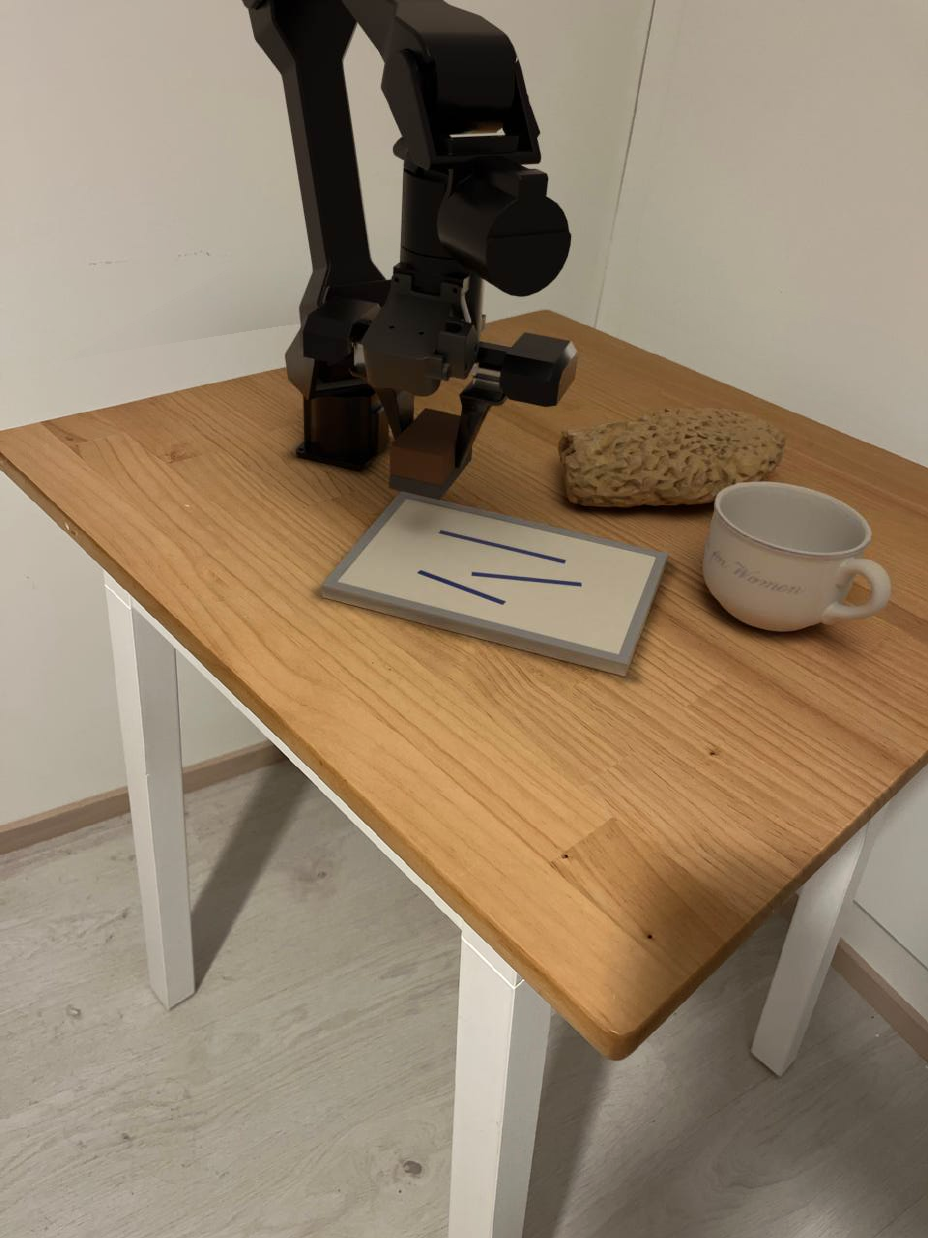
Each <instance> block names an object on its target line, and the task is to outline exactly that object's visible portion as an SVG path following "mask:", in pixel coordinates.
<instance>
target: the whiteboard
mask: <svg viewBox="0 0 928 1238" xmlns="http://www.w3.org/2000/svg"><path fill="white" fill-rule="evenodd" d="M669 554H670V553H668V552H664V551H661V550H657V549H652V548H648V547H643V546H639V545H635V544H630V543H627V542H622V541H617V540H614V539H609V538H605V537H600V536H597V535H592V534H588V533H583V532H580V531H576V530H572V529H571V530H570V529H566V528H562V527H559V526H558V527H557V526H554V525H550V524H546V523H540V522H536V521H532V520H528V519H524V518H519V517H515V516H511V515H507V514H503V513H498V512H494V511H489V510H486V509H481V508H476V507H472V506H468V505H465V504H459V503H456V502H452V501H448V500H443V499H441V500H436V499H432V498H428V497H423V496H419V495H415V494H411V493H406V492H402V491H399V492H398V494H397V495H396V496H395V497H394V498H393V499H392V500H391V502H390V503H389V504H388V505H387V507H386V508H384V510H383V511H382V512H381V514H380V515H379V516H378V517H377V518H376V520H375V521H374V522H373V523H372V524H371V525H370V527H368V529H367V530H366V531H365V533H364V534H363V535H362V536H361V537H360V538H359V539H358V540H357V542H356V543H355V544H354V545H353V546H352V547H351V549H350V550H349V551H348V553H346V554H345V556H344V557H343V558H342V559H341V560H340V562H339V563H338V564H337V565H336V566H335V567H334V569H333V570H332V571H331V572H330V573H329V575H328V576H327V577H326V578H325V579H324V581H322V583H321V598H324V599H327V600H332V601H335V602H339V603H341V604H347V605H350V606H355V607H359V608H362V609H366V610H370V611H373V612H376V613H381V614H385V615H389V616H392V617H396V618H400V619H403V620H408V621H412V622H415V623H418V624H423V625H427V626H431V627H434V628H438V629H441V630H445V631H448V632H452V633H457V634H461V635H465V636H468V637H472V638H476V639H479V640H484V641H487V642H491V643H495V644H499V645H503V646H507V647H509V648H514V649H518V650H521V651H525V652H528V653H533V654H537V655H540V656H544V657H548V658H552V659H555V660H559V661H563V662H567V663H571V664H574V665H579V666H583V667H585V668H590V669H594V670H596V671H601V672H605V673H608V674H613V675H616V676H620V677H624V678H625V677H626V676H627V674H628V671H629V669H630V666H631V663H632V660H633V658H634V655H635V653H636V649H637V647H638V644H639V642H640V638H641V636H642V633H643V630H644V628H645V624H646V622H647V619H648V617H649V613H650V611H651V608H652V606H653V602H654V600H655V597H656V594H657V592H658V589H659V587H660V584H661V581H662V578H663V575H664V572H665V570H666V567H667V563H668V560H669Z"/></svg>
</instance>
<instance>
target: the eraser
mask: <svg viewBox="0 0 928 1238" xmlns="http://www.w3.org/2000/svg"><path fill="white" fill-rule="evenodd" d="M460 417H461V414H456V413H451V412H446V411H441V410H437V409H433V408H428V407H424V408H423V410H422V411H421V412H420V413H419V414H418V415H417V416H416V417H415V418H413V422H412V423H411V424H410V425H409V426H408V427H407V428H406V429H405V430H404V431H403V432H402V433H401V434H400V435H399V437H398V438H397V439H396V440H394V441H392V443H391V444H390V446H389V471H388V472H389V476H388V489H390V490H394V491H399V492H401V491H402V492H406V493H411V494H415V495H419V496H423V497H428V498H432V499H436V500H442V499H443V497H444V496H445V495H446V493H448V491H449V490H450V488H451V487H452V486H453V484H454V483H455V482H456V480H457V479H458V478H459V476H460V475H461V474H462V473H463V471H464V470H465V469H466V468H467V466H468V465H469V463H470V462H471V461H472V459H473V458H472V457H473V446H474V444H473V445H472V447H471V449H470V452H469V454H468V456H467V458H466V460H465V462H464V464H463V465H462V466H461V468H455V447H456V441H457V435H458V429H459V423H460Z"/></svg>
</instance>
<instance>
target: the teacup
mask: <svg viewBox="0 0 928 1238" xmlns="http://www.w3.org/2000/svg"><path fill="white" fill-rule="evenodd" d="M713 508H714V510H713V512H712V513H713V514H712V517H711V521H710V525H709V527H708V532H707V537H706V541H705V544H704V545H705V546H704V550H703V557H702V576H703V580H704V583H705V585H706V587H707V588H708V590H709V592H710V594H711V595H712V596H713V598H715V599H716V600H717V601H718V603H719V604H720V605H721V607H722V608H723V609H724V610H725V611H726V612H727V613H728V614H729V615H731V616H732V617H734V618H735V619H737V620H738V621H740V622H742V623H744V624H746V625H749V626H752V627H755V628H758V629H761V630H765V631H770V632H780V633H781V632H782V633H783V632H794V631H799V630H802V629H805V628H807V627H810V626H815V625H818V624H820V623H822V624H824V625H834V624H836V623H838V622H839V621H859V620H861V621H862V620H866V619H869V618H871V617H874V616H876V615H877V614H879V613H881V612H882V611H883V610H884V609H885V608H886V606H887V605H888V603H889V600H890V598H891V596H892V595H891V594H892V583H891V580H890V576H889V574H888V572H887V571H886V569H885V568H883V566H881V564H879V562H875V561H874V560H871V559H867V558H863V557H864V554H865V551H866V549H867V547H868V546H869V544H870V543H871V541H872V538H873V537H872V535H873V534H872V528H871V526H870V524H869V523H868V521H867V520H866V519H865V517H864V516H863V515H861V514H860V513H859V512H858V511H857V510H855V509H854V508H853V507H851V506H850V505H848V503H847V504H846V503H845V502H843V501H841V500H839V499H838V498H835V497H833V496H832V495H829V494H826V493H824V492H822V491H817V490H814V489H812V488H810V487H809V488H808V487H804V486H800V485H795V484H791V483H785V482H779V481H764V480H762V481H759V482H742V483H737V484H735V485H731V486H729V487H726V488H724V489H723V490H722V491H720V492H719V493H718V494H717V496H716V499H715V501H713ZM856 575H861V576H862V577H864V578H865V579H866V580H867V582H868V584H869V586H870V592H871V594H870V595H871V596H870V598H869V600H868V601H867V602H866V603H864V604H863V605H854V606H852V605H846V604H845V605H844V602H845V601H846V599H847V597H848V595H849V592H850V590H851V589H852V586H853V583H854V581H855V578H856Z"/></svg>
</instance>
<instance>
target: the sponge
mask: <svg viewBox="0 0 928 1238" xmlns="http://www.w3.org/2000/svg"><path fill="white" fill-rule="evenodd" d="M561 436H562V437H561V438H560V439H559V440H558V442H557V443H558V444H557V452H558V456H559V461H560V463H561V464H562V465H563V466H564V471H563V473H564V474H563V475H562V476H563V478H564V486H565V494H566V497H567V499H568V500H569V502H570V503H572V504H579V505H581V506H588V507H589V506H590V507H602V508H604V507H605V508H607V507H608V508H609V507H610V508H611V507H618V508H632V507H636V506H639V507H640V506H642V505H646V506H647V505H648V506H654V507H657V506H679V505H681V504H683V505H691V506H693V505H703V504H709V503H712V502H715V499H716V496H717V494H718V493H719V492H720V491H722V490H723V489H724V488H726V487H729V486H731V485H735V484H737V483H742V482H762V481H764V480H765V479H767V478H769V476H771V475H772V474H773V473H775V471H776V469H777V468H778V467H779V466H780V464H781V462H782V460H783V458H784V454H785V453H786V452H787V450H785V446H786V434H785V432H784V431H783V430H781V429H779V428H778V427H776V426H775V425H774V424H772V423H770V422H769V421H766V420H763V418H758V417H757V415H754V414H752V413H748V412H743V411H741V410H731V409H724V408H721V407H715V408H712V407H711V408H709V407H687V406H685V407H681V408H665V409H664V411H663V410H660V411H657V412H656V413H655V412H651V413H646V414H644V415H642V416H640V417H638V418H637V419H635V420H633V421H629V420H624V421H613V422H612V421H611V422H607V423H602V424H598V425H594V426H592V427H589V428H586V429H566V430H565V429H564V430H561Z"/></svg>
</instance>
